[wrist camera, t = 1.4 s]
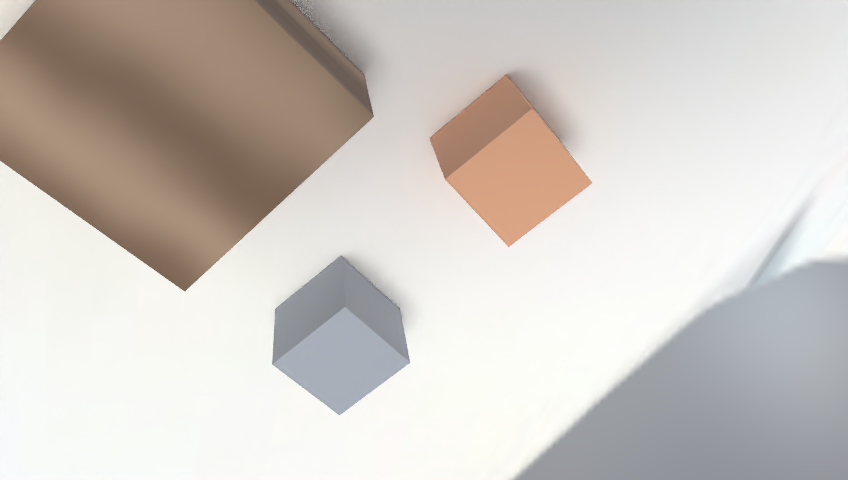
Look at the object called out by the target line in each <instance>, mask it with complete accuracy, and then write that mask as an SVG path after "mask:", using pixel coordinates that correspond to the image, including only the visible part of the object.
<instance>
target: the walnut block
mask: <svg viewBox="0 0 848 480" xmlns="http://www.w3.org/2000/svg"><path fill="white" fill-rule="evenodd" d="M373 117H374V116H373V112H372V107H371V103H370V99H369V94H368V90H367V85H366V81H365V76H364V74H363V73H362V72H361V71H360V70H359V69H358V68H357V67H356V66H355V65H354V64H353V63H352V62H351V61H350V60H349V59H348V58H347V57H346V56H345V55H344V54H343V53H342V52H341V51H340V50H339V49H338V48H337V47H336V46H335V45H334V44H333V43H332V42H331V41H330V40H329V39H328V38H327V37H326V36H325V35H324V34H323V33H322V32H321V31H320V30H319V29H318V28H317V27H316V26H315V25H314V24H313V23H312V22H311V21H310V20H309V19H308V18H307V17H306V16H305V15H304V14H303V13H302V12H301V11H300V10H299V9H298V8H297V7H296V6H295V5H294V4H293V3H292V2H291V1H290V0H36V1H35V2H34V3H33V4H32V5H31V6H30V8H29V9H28V10H27V11H26V12H25V13H24V14H23V16H22V17H21V18H20V19H19V20H18V21H17V22H16V24H15V25H14V26H13V27H12V28H11V29H10V31H9V32H8V33H7V34H6V35H5V36H4V37H3V39H2V40H1V41H0V161H2V162H3V163H4V164H6V165H7V166H9V167H10V168H11V169H13V170H14V171H16V172H17V173H18V174H20V175H21V176H23V177H24V178H26V179H27V180H28V181H30V182H31V183H33V184H34V185H35V186H37V187H38V188H40V189H41V190H42V191H44V192H45V193H47V194H48V195H50V196H51V197H52V198H54V199H55V200H57V201H58V202H59V203H61V204H62V205H64V206H65V207H66V208H68V209H69V210H71V211H72V212H74V213H75V214H76V215H78V216H79V217H81V218H82V219H83V220H85V221H86V222H88V223H89V224H90V225H92V226H93V227H95V228H96V229H97V230H99V231H100V232H102V233H103V234H105V235H106V236H107V237H109V238H110V239H112V240H113V241H114V242H116V243H117V244H119V245H120V246H121V247H123V248H124V249H126V250H127V251H129V252H130V253H131V254H133V255H134V256H136V257H137V258H138V259H140V260H141V261H143V262H144V263H145V264H147V265H148V266H150V267H151V268H153V269H154V270H155V271H157V272H158V273H160V274H161V275H162V276H164V277H165V278H167V279H168V280H169V281H171V282H172V283H174V284H175V285H176V286H178V287H179V288H181V289H182V290H184V291H186V290H187V289H188V288H189V287H190V286H191V285H192V284H193V283H194V282H195V281H197V280H198V279H199V278H200V277H201V276H202V275H203V274H204V273H205V272H206V271H207V270H208V269H209V268H211V267H212V266H213V265H214V264H215V263H216V262H217V261H218V260H219V259H220V258H221V257H222V256H224V255H225V254H226V253H227V252H228V251H229V250H230V249H231V248H232V247H233V246H234V245H235V244H236V243H238V242H239V241H240V240H241V239H242V238H243V237H244V236H245V235H246V234H247V233H248V232H249V231H251V230H252V229H253V228H254V227H255V226H256V225H257V224H258V223H259V222H260V221H261V220H262V219H264V218H265V217H266V216H267V215H268V214H269V213H270V212H271V211H272V210H273V209H274V208H275V207H276V206H278V205H279V204H280V203H281V202H282V201H283V200H284V199H285V198H286V197H287V196H288V195H289V194H291V193H292V192H293V191H294V190H295V189H296V188H297V187H298V186H299V185H300V184H301V183H302V182H304V181H305V180H306V179H307V178H308V177H309V176H310V175H311V174H312V173H313V172H314V171H315V170H316V169H318V168H319V167H320V166H321V165H322V164H323V163H324V162H325V161H326V160H327V159H328V158H329V157H331V156H332V155H333V154H334V153H335V152H336V151H337V150H338V149H339V148H340V147H341V146H342V145H344V144H345V143H346V142H347V141H348V140H349V139H350V138H351V137H352V136H353V135H354V134H355V133H356V132H358V131H359V130H360V129H361V128H362V127H363V126H364V125H365V124H366V123H367V122H368V121H369V120H371V119H372V118H373Z"/></svg>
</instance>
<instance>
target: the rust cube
mask: <svg viewBox="0 0 848 480" xmlns="http://www.w3.org/2000/svg"><path fill="white" fill-rule="evenodd" d="M430 140H431V143H432V146H433V148H434V151H435V154H436V156H437V159H438V161H439V164H440V167H441V169H442V172H443V175H444V177H445V180H446V181H447V182H448V183H449V184H450V185H451V186H452V187H453V188H454V189H455V190H456V191H457V192H458V193H459V194H460V196H461V197H462V198H463V199H464V200H465V201H466V202H467V203H468V204H469V205H470V206H471V207H472V208H473V209H474V210H475V212H476V213H477V214H478V215H479V216H480V217H481V218H482V219H483V220H484V221H485V222H486V223H487V224H488V225H489V226H490V228H491V229H492V230H493V231H494V232H495V233H496V234H497V235H498V236H499V237H500V238H501V239H502V240H503V241H504V242H505V244H506V245H507V246H508V247H509V246H510V245H512V244H513V243H514V242H516V241H517V240H518V239H520V238H521V237H522V236H523V235H525V234H526V233H527V232H529V231H530V230H531V229H533V228H534V227H535V226H537V225H538V224H539V223H540V222H542V221H543V220H544V219H546V218H547V217H548V216H550V215H551V214H552V213H554V212H555V211H556V210H557V209H559V208H560V207H561V206H563V205H564V204H565V203H567V202H568V201H569V200H571V199H572V198H573V197H574V196H576V195H577V194H578V193H580V192H581V191H582V190H584V189H585V188H586V187H588V186H589V185H590V184H591V183H592V182H591V181H590V180H589V178H588V177H587V176H586V174H585V173H584V172H583V170H582V169H581V168H580V167H579V165H578V164H577V163H576V161H575V160H574V159H573V157H572V156H571V155H570V153H569V152H568V151H567V149H566V148H565V147H564V145H563V144H562V143H561V142H560V140H559V139H558V138H557V137H556V135H555V134H554V133H553V132H552V130H551V129H550V128H549V127H548V125H547V124H546V123H545V122H544V120H543V119H542V118H541V117H540V115H539V114H538V113H537V112H536V110H535V109H534V108H533V107H532V105H531V104H530V103H529V102H528V100H527V99H526V98H525V97H524V95H523V94H522V93H521V92H520V90H519V89H518V88H517V87H516V86H515V84H514V83H513V82H512V81H511V79H510V78H509V77H508V76H507V74H506V75H505V76H504V77H503V78H501V79H500V80H499V81H498V82H497V83H495V84H494V85H493V86H492V87H491V88H489V89H488V90H487V91H486V92H485V93H483V94H482V95H481V96H480V97H479V98H477V99H476V100H475V101H474V102H473V103H471V104H470V105H469V106H468V107H467V108H465V109H464V110H463V111H462V112H461V113H459V114H458V115H457V116H456V117H455V118H453V119H452V120H451V121H450V122H449V123H447V124H446V125H445V126H444V127H442V128H441V129H440V130H439V131H438V132H436V133H435V134H434V135H433V136H432V137H430Z"/></svg>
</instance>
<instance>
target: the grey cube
mask: <svg viewBox="0 0 848 480" xmlns="http://www.w3.org/2000/svg"><path fill="white" fill-rule="evenodd" d="M409 363H410V360H409V355H408V349H407V344H406V339H405V333H404V328H403V323H402V317H401V312H400V308H398V307H397V306H396V305H395V304H394V303H393V302H392V301H391V300H390V299H389V298H387V297H386V296H385V295H384V294H383V293H382V292H381V291H380V290H379V289H377V288H376V287H375V286H374V285H373V284H372V283H371V282H370V281H369V280H367V279H366V278H365V277H364V276H363V275H362V274H361V273H360V272H359V271H357V270H356V269H355V268H354V267H353V266H352V265H351V264H350V263H349V262H347V261H346V260H345V259H344V258H343V257H342V256H340V257H339V258H338V259H336V260H335V261H334V262H333V263H331V264H330V265H329V266H328V267H326V268H325V269H324V270H323V271H322V272H320V273H319V274H318V275H317V276H315V277H314V278H313V279H312V280H310V281H309V282H308V283H307V284H306V285H304V286H303V287H302V288H301V289H299V290H298V291H297V292H296V293H294V294H293V295H292V296H291V297H290V298H288V299H287V300H286V301H285V302H283V303H282V304H281V305H280V306H278V307H277V308H276V309H275V326H274V344H273V361H272V364H273V365H274V366H275V367H277V368H278V369H279V370H281V371H282V372H283V373H285V374H286V375H287V376H288V377H290V378H291V379H292V380H294V381H295V382H296V383H298V384H299V385H300V386H302V387H303V388H304V389H306V390H307V391H308V392H310V393H311V394H312V395H314V396H315V397H316V398H317V399H319V400H320V401H321V402H323V403H324V404H325V405H327V406H328V407H329V408H331V409H332V410H333V411H335V412H336V413H337V414H339V415H340V414H342V413H343V412H345V411H346V410H347V409H349V408H350V407H351V406H353V405H354V404H355V403H357V402H358V401H359V400H361V399H362V398H363V397H365V396H366V395H367V394H369V393H370V392H371V391H373V390H374V389H375V388H377V387H378V386H379V385H381V384H382V383H383V382H385V381H386V380H387V379H389V378H390V377H391V376H393V375H394V374H395V373H397V372H398V371H399V370H401V369H402V368H403V367H405V366H406V365H407V364H409Z"/></svg>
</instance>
